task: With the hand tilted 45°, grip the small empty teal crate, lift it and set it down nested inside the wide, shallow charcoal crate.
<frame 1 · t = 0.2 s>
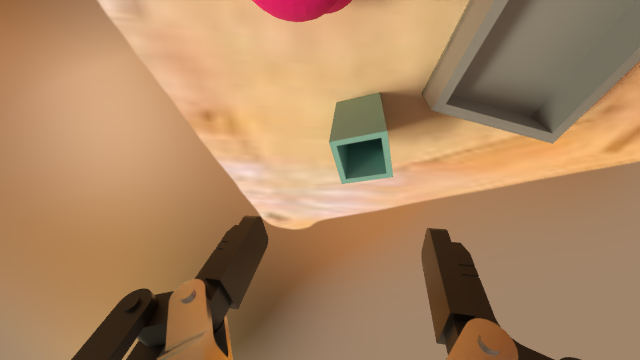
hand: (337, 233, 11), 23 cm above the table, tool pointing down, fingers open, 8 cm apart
charcoal crate: (526, 35, 23), on the table
teal crate: (361, 117, 31), on the table
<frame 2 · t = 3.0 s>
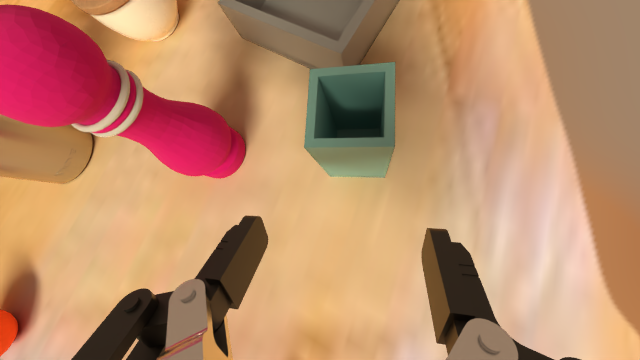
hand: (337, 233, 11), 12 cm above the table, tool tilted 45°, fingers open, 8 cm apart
pepper mill: (223, 153, 28), on the table
clementine: (16, 331, 30), on the table
lidded jar: (162, 24, 34), on the table
charcoal crate: (320, 12, 28), on the table
teal crate: (357, 150, 24), on the table
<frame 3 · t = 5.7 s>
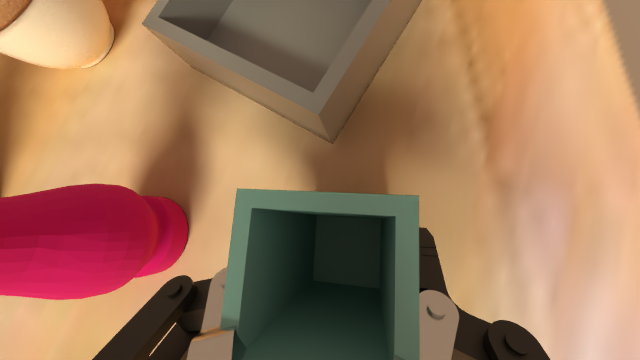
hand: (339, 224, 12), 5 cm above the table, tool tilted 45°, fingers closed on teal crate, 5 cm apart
pepper mill: (159, 234, 20), on the table
lidded jar: (94, 44, 26), on the table
charcoal crate: (297, 34, 20), on the table
teal crate: (347, 249, 16), on the table, touching gripper
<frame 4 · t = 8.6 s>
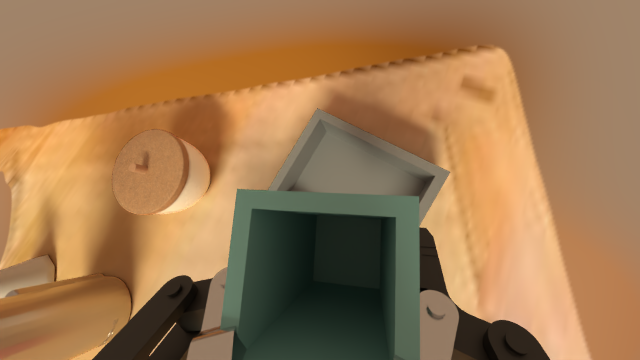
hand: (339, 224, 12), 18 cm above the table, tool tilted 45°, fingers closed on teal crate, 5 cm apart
lidded jar: (194, 181, 36), on the table
flask: (43, 276, 39), on the table
charcoal crate: (349, 197, 30), on the table
teal crate: (347, 249, 16), point 13 cm above the table, touching gripper
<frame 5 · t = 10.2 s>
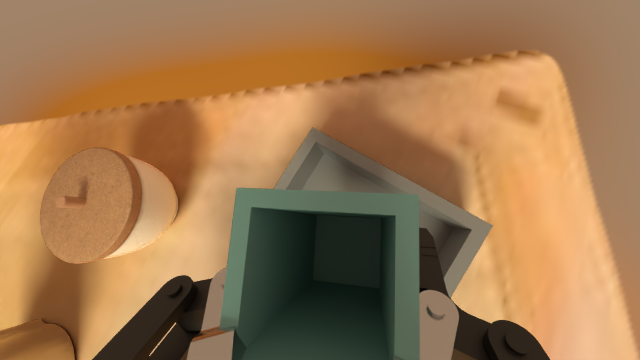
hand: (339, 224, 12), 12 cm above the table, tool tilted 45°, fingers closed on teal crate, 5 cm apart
lidded jar: (158, 207, 29), on the table
charcoal crate: (351, 239, 23), on the table
teal crate: (347, 248, 16), point 7 cm above the table, touching gripper
when the fingers open (7 cm above the table, at t = 11.6 s): teal crate drops 1 cm, resting on charcoal crate.
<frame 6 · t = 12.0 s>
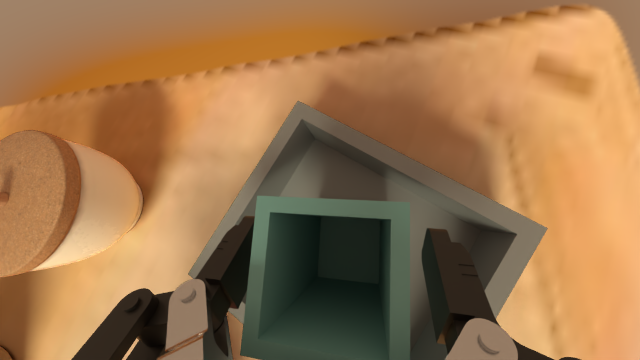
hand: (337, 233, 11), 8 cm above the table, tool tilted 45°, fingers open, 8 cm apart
lidded jar: (121, 206, 24), on the table
charcoal crate: (350, 245, 19), on the table
teal crate: (349, 247, 18), point 1 cm above the table, touching charcoal crate
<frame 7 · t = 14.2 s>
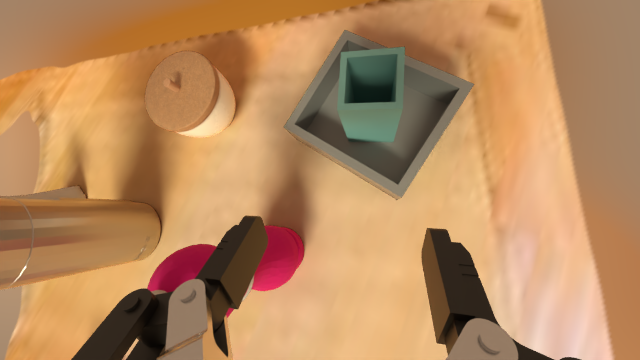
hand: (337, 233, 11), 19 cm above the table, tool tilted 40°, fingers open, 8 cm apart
pepper mill: (283, 250, 32), on the table
lidded jar: (218, 114, 37), on the table
flask: (74, 206, 42), on the table
charcoal crate: (371, 123, 31), on the table
teal crate: (371, 121, 30), point 1 cm above the table, touching charcoal crate
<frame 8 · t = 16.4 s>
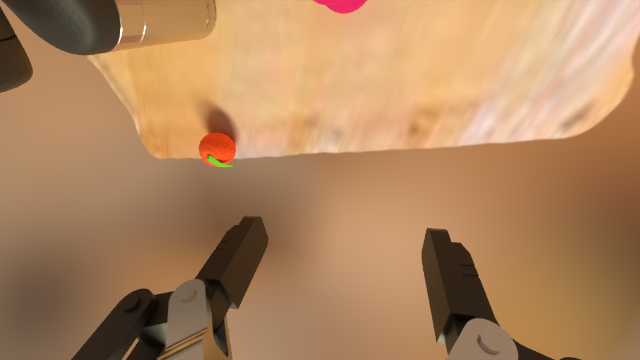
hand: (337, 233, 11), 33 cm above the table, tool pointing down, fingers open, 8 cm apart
clementine: (229, 143, 51), on the table
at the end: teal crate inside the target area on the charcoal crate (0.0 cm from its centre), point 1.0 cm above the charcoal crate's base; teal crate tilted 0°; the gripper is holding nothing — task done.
